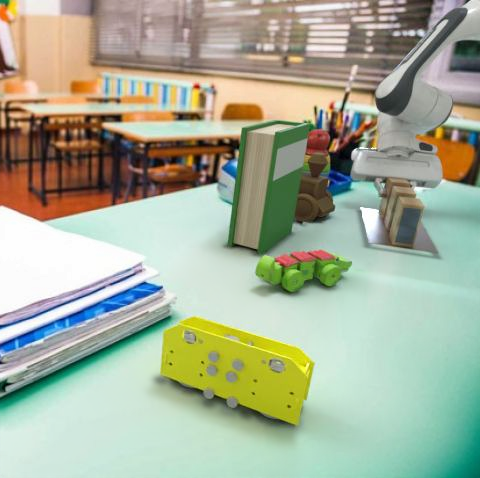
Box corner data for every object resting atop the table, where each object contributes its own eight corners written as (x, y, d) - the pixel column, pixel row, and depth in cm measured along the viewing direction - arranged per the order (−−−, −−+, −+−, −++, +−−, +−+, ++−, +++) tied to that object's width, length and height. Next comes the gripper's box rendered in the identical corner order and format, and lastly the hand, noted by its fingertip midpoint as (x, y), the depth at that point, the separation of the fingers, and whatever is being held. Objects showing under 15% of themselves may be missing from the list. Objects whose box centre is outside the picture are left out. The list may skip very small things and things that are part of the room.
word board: (415, 217, 124) (416, 214, 124) (438, 256, 100) (439, 252, 100) (359, 210, 129) (360, 206, 128) (367, 246, 104) (368, 242, 104)
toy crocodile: (330, 267, 93) (337, 237, 90) (358, 282, 87) (365, 250, 85) (242, 280, 86) (247, 248, 84) (265, 298, 80) (271, 264, 78)
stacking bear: (294, 183, 153) (304, 125, 146) (328, 188, 148) (340, 129, 142) (285, 190, 144) (295, 129, 138) (321, 196, 139) (334, 133, 133)
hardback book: (261, 254, 97) (280, 132, 89) (227, 245, 101) (241, 127, 93) (291, 232, 111) (310, 123, 102) (260, 224, 115) (275, 119, 106)
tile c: (395, 212, 125) (404, 177, 122) (401, 219, 119) (410, 183, 116) (378, 210, 126) (386, 176, 123) (383, 217, 120) (392, 181, 117)
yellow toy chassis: (158, 382, 59) (162, 321, 56) (177, 358, 63) (182, 301, 60) (295, 434, 51) (309, 367, 48) (305, 403, 56) (319, 341, 53)
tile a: (402, 224, 116) (412, 187, 113) (406, 233, 110) (416, 194, 107) (384, 222, 117) (392, 185, 114) (386, 230, 112) (396, 192, 108)
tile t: (409, 238, 107) (419, 198, 104) (413, 248, 102) (424, 206, 98) (388, 235, 108) (398, 196, 105) (391, 244, 103) (402, 203, 100)
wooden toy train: (240, 208, 126) (248, 143, 120) (261, 200, 134) (270, 138, 128) (316, 228, 114) (330, 156, 108) (335, 217, 121) (349, 150, 115)
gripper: (354, 139, 125) (352, 186, 120) (444, 147, 120) (446, 195, 115) (348, 154, 131) (346, 198, 126) (434, 161, 126) (435, 208, 121)
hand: (394, 197), depth 120 cm, fingers closed on tile c, 4 cm apart
